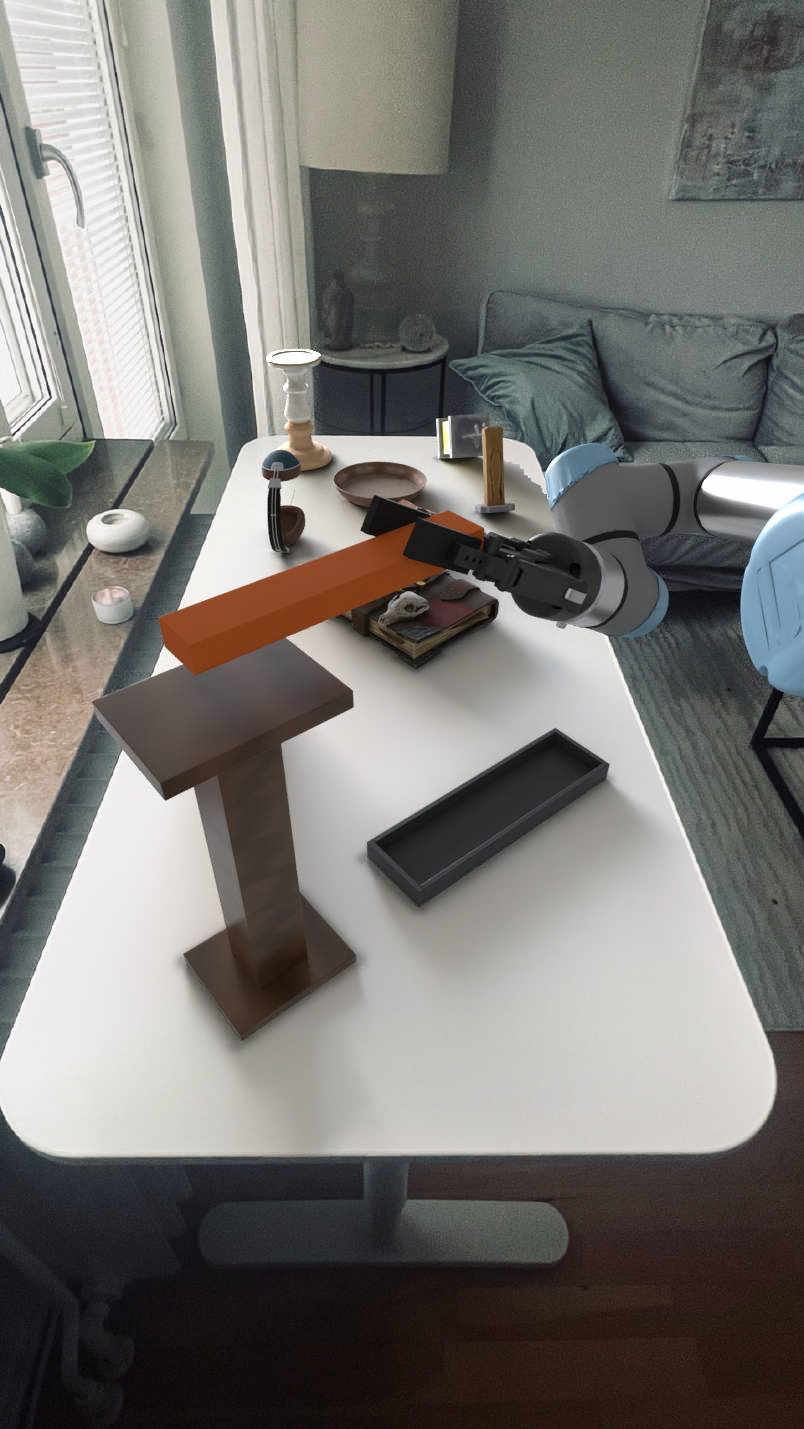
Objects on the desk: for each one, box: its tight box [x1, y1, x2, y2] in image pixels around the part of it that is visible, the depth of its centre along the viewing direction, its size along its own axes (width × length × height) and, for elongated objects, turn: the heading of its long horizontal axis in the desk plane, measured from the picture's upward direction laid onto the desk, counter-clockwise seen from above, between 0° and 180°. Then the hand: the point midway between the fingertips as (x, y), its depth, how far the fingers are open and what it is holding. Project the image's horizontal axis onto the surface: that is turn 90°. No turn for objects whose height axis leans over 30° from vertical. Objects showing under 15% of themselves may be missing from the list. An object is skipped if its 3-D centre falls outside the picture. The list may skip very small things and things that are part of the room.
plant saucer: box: [332, 460, 428, 508], centre depth 149 cm, size 18×18×3 cm
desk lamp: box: [435, 412, 516, 514], centre depth 151 cm, size 8×17×30 cm
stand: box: [91, 637, 357, 1041], centre depth 62 cm, size 14×10×30 cm
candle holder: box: [265, 348, 332, 472], centre depth 157 cm, size 12×12×20 cm
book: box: [337, 570, 500, 670], centre depth 116 cm, size 26×18×7 cm
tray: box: [366, 727, 611, 908], centre depth 85 cm, size 28×8×2 cm, turn 130°
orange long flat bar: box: [158, 509, 485, 675], centre depth 54 cm, size 24×4×2 cm, turn 130°
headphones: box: [261, 449, 306, 554], centre depth 131 cm, size 6×15×22 cm
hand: (392, 526), depth 54 cm, fingers closed on orange long flat bar, 4 cm apart
